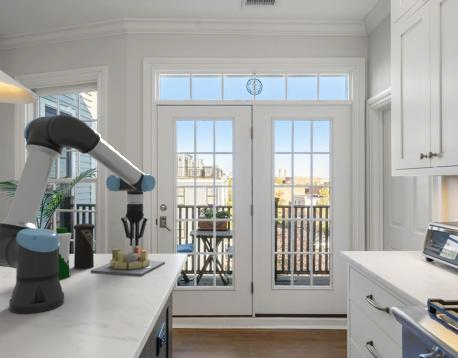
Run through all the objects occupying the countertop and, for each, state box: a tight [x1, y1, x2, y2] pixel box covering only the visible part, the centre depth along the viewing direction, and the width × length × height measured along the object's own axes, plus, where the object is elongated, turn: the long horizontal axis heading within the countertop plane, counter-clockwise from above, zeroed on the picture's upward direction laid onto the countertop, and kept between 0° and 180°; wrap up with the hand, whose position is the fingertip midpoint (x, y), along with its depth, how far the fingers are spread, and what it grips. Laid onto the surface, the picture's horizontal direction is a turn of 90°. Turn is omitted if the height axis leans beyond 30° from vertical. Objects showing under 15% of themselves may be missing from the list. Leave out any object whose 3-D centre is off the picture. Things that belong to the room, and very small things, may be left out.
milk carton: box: [55, 226, 73, 281], centre depth 142 cm, size 9×9×20 cm
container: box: [73, 223, 96, 270], centre depth 161 cm, size 9×9×20 cm
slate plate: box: [90, 252, 166, 277], centre depth 159 cm, size 24×24×6 cm
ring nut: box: [109, 246, 150, 270], centre depth 160 cm, size 17×17×7 cm
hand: (134, 252), depth 167 cm, fingers closed
